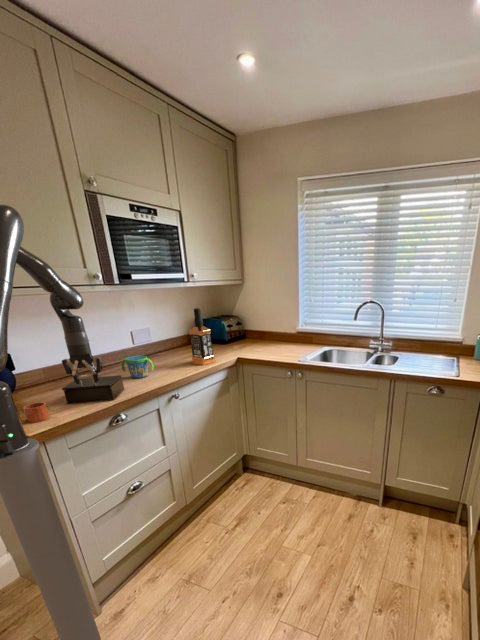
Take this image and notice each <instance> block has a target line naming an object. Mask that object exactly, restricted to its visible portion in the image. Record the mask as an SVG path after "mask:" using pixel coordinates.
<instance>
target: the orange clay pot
mask: <svg viewBox="0 0 480 640" xmlns="http://www.w3.org/2000/svg"><path fill="white" fill-rule="evenodd" d="M22 409H23V413H24V415H25V418H26V421H27V422H28V423H40V422H43V421H46V420H48V419H49V418H50V413H49V410H48V407H47V404H46V402H44V401H43V402H42V401H40V402H39V401H38V402H32V403H29V404H25V405H24V406H23V407H22Z"/></svg>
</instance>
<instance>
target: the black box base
mask: <svg viewBox="0 0 480 640" xmlns="http://www.w3.org/2000/svg"><path fill="white" fill-rule="evenodd" d="M124 390H125V385H124V381H123V377H121V378H120V379H119V380H117V381H116V382H115V383H114V384H113V385H111V386H110V387H100V388H86V389H73V390H63V393H64V396H65V400H66V403H67V405H71V404H82V403H95V402H107V401H115V400H116V398H118V396H120V394H121V393H123V391H124Z"/></svg>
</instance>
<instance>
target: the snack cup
mask: <svg viewBox="0 0 480 640" xmlns="http://www.w3.org/2000/svg"><path fill="white" fill-rule="evenodd" d="M125 363H126V366H127V369H128V371H129V374H130V376H131V378H132V379H142V378H145V377H148V363H149V364H150V367H151V368H150V370H151V371H154V368H155V366H154V362H153V361H152V360H151V359H150V358H148V356H146V355H135V356H133V355H132V356H128V357H125V358H124V359H123V360H122V361H121V370H122V371H123V372H125V371H126V366H125Z"/></svg>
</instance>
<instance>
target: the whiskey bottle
mask: <svg viewBox="0 0 480 640" xmlns="http://www.w3.org/2000/svg"><path fill="white" fill-rule="evenodd" d="M193 314H194V321H193V322H194V327H192V328H191V329H189V330H188V333H189V336H190V345H191V353H192V356H191V362H192V364H194V365H200V366H206V365H209V364H212V363H215V362H216V361H215V355H214V351H213V344H212V336H211V329H210V328H209V327H206V326H205V325H204V321H203V317H202V311H201V308H199V307H197V308H196V307H195V308H193Z"/></svg>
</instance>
